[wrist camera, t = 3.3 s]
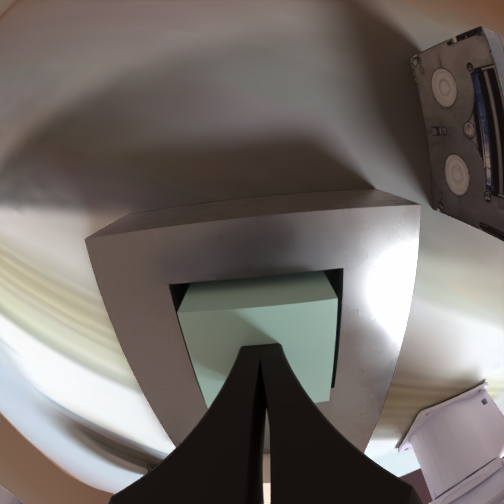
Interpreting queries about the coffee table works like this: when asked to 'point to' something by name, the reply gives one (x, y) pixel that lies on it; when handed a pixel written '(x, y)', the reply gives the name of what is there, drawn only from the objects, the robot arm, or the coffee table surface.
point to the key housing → (255, 265)
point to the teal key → (262, 326)
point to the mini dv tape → (465, 126)
